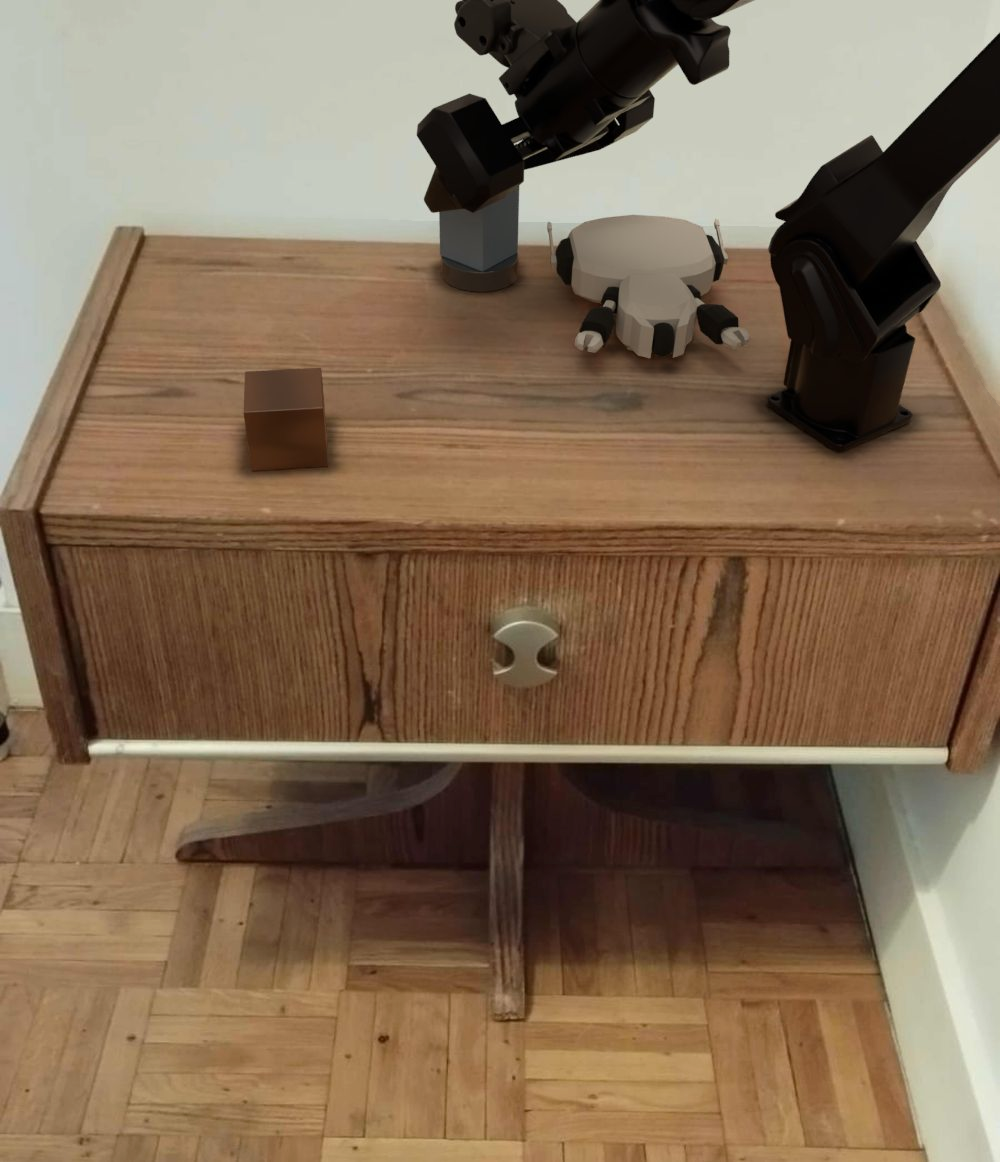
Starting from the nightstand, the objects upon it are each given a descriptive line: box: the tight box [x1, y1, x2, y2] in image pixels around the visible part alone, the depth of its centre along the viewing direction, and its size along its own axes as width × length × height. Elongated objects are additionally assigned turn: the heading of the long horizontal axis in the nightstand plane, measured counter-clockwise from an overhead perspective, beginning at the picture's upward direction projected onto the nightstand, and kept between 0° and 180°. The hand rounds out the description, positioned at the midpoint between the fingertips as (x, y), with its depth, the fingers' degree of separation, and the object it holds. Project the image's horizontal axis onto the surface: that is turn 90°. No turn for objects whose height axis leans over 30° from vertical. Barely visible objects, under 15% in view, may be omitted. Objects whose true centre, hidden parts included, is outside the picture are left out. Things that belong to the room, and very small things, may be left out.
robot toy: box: [546, 214, 751, 359], centre depth 87 cm, size 12×4×15 cm
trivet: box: [440, 251, 520, 293], centre depth 93 cm, size 6×6×2 cm
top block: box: [438, 185, 520, 272], centre depth 90 cm, size 4×4×7 cm
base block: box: [243, 367, 329, 472], centre depth 75 cm, size 4×4×4 cm
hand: (472, 184), depth 89 cm, fingers open, 9 cm apart
